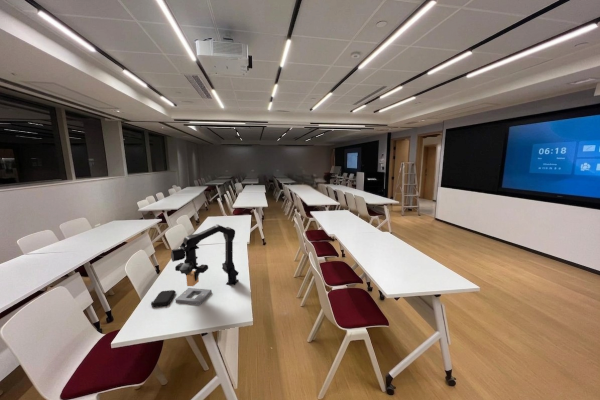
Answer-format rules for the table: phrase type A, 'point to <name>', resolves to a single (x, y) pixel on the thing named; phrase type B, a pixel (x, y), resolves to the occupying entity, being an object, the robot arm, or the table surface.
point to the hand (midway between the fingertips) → (192, 280)
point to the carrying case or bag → (163, 298)
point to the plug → (191, 279)
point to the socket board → (198, 300)
